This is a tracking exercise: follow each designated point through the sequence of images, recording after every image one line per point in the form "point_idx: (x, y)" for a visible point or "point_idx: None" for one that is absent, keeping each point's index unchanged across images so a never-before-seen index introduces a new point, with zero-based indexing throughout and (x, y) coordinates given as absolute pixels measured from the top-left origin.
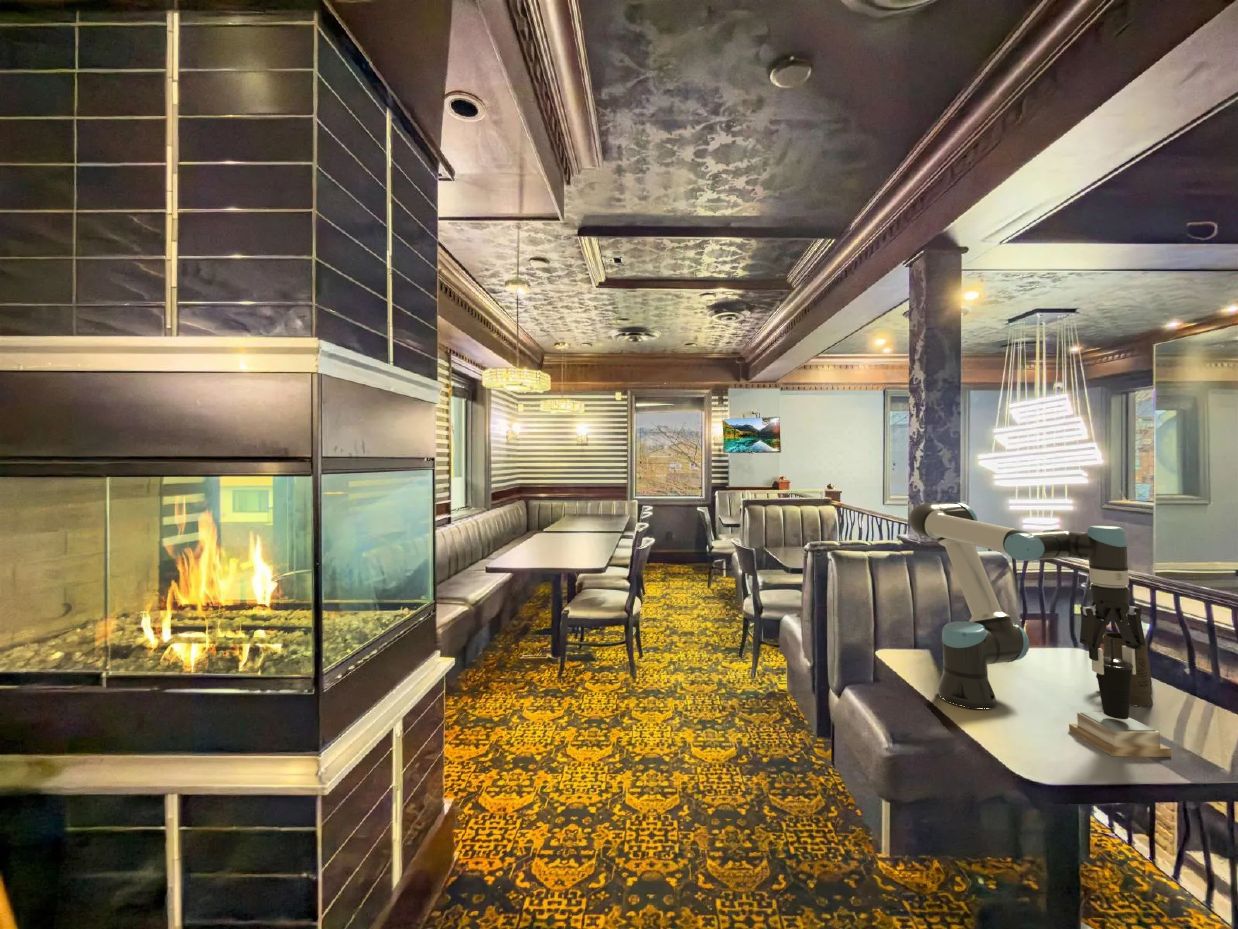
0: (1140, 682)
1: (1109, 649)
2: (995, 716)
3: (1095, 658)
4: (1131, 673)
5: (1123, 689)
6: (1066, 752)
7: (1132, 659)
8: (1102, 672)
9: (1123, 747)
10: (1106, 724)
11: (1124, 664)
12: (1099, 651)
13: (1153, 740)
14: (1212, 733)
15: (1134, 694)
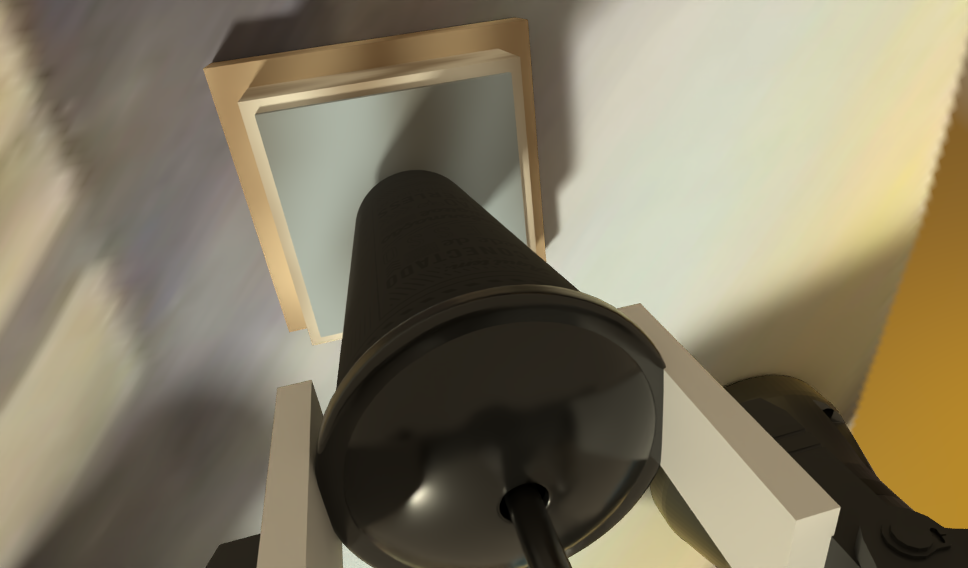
0: None
1: None
2: (735, 335)
3: (768, 418)
4: (370, 330)
5: (452, 222)
6: (693, 33)
7: (301, 516)
8: (638, 315)
9: (460, 42)
10: (502, 149)
11: (472, 374)
12: (810, 487)
13: (283, 88)
14: None
15: None
